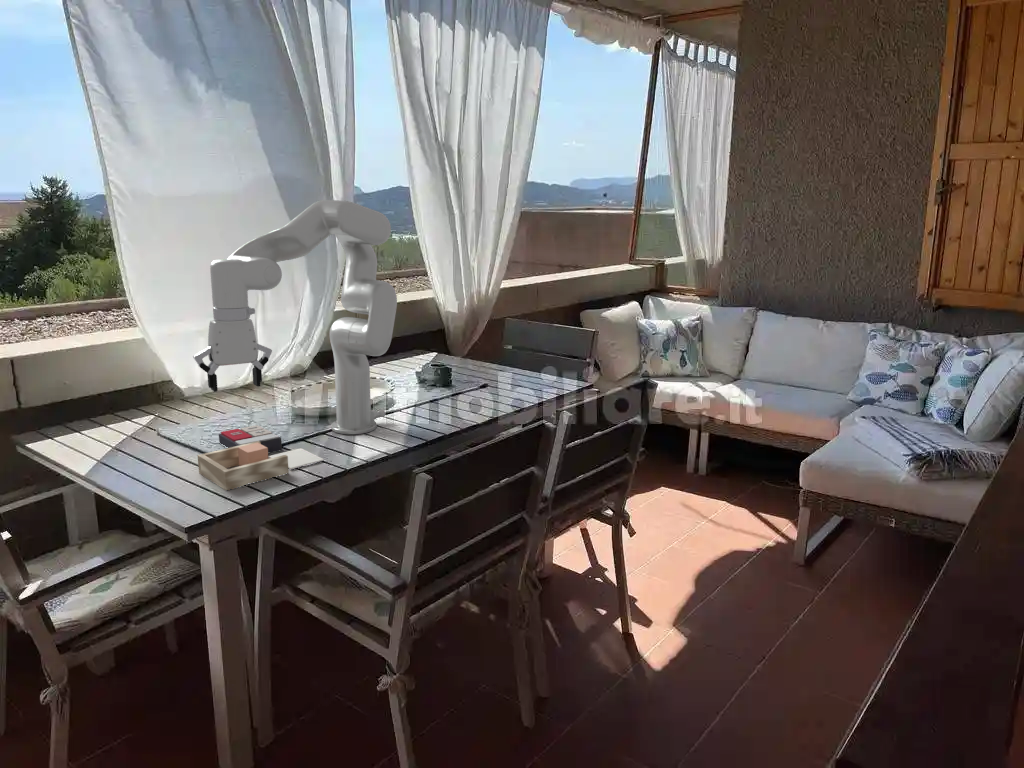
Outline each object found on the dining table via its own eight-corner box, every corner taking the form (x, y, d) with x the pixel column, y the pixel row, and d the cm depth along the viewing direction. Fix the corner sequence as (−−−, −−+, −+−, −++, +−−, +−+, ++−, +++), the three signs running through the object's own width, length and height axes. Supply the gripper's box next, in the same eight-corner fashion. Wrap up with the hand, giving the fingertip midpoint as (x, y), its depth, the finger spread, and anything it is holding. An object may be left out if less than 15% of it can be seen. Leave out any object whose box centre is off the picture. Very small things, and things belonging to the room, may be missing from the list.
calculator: (258, 423, 200) (281, 434, 189) (259, 438, 201) (282, 450, 190) (217, 431, 193) (239, 443, 182) (219, 446, 194) (240, 459, 183)
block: (259, 465, 179) (257, 442, 177) (269, 471, 175) (267, 447, 174) (239, 470, 175) (237, 447, 174) (249, 476, 172) (247, 452, 170)
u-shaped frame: (259, 458, 183) (258, 441, 182) (288, 473, 174) (287, 456, 173) (199, 473, 173) (197, 455, 172) (226, 490, 163) (224, 472, 162)
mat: (300, 450, 190) (300, 448, 189) (323, 461, 182) (323, 459, 182) (268, 458, 183) (268, 456, 183) (290, 470, 176) (290, 468, 176)
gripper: (264, 310, 174) (267, 380, 178) (186, 314, 164) (192, 389, 168) (274, 314, 168) (278, 386, 172) (195, 319, 158) (200, 396, 162)
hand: (235, 387), depth 170 cm, fingers open, 9 cm apart
